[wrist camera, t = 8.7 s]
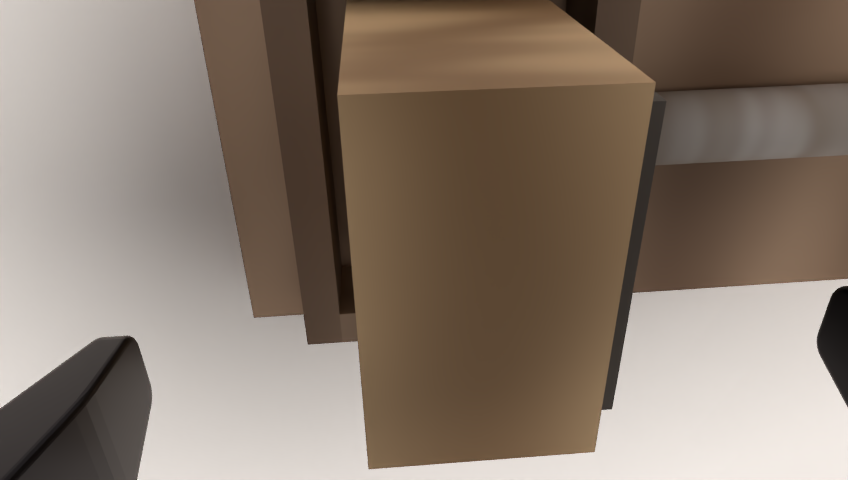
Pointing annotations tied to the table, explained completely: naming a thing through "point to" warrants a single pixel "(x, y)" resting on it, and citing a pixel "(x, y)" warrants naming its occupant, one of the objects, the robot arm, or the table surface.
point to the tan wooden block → (490, 223)
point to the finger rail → (683, 196)
